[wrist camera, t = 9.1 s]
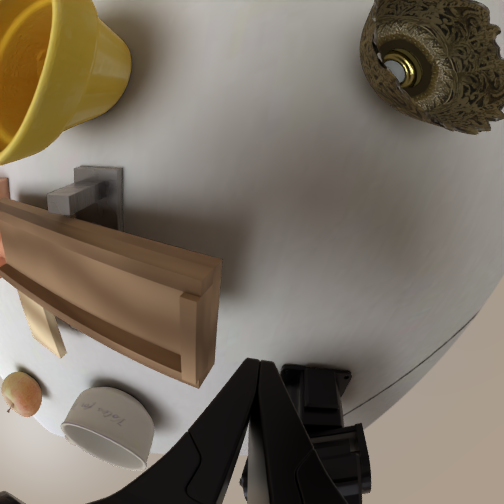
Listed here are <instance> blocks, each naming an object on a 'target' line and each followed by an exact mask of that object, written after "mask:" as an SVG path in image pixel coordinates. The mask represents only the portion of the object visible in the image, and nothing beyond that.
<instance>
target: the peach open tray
mask: <svg viewBox="0 0 504 504" xmlns="http://www.w3.org/2000/svg"><path fill="white" fill-rule="evenodd" d="M3 197H5V198H8V199H10V196H9V185H8V178H0V199H1V198H3ZM6 263H7V262H6V258H5V253H4V248H3V244H2V239H1V233H0V267H1V266H3V265H4V264H6ZM0 278H2V277H1V276H0Z"/></svg>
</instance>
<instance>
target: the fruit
mask: <svg viewBox="0 0 504 504" xmlns="http://www.w3.org/2000/svg"><path fill="white" fill-rule="evenodd" d="M2 395H3V397H4V399H5V401H6V403H7V404H8V405H9V406H10V409H11V408H12V409H13V410H14V411H15V412H17V413H18V414H20V415H22V416H24V417H30V416H32V415H34V414H35V413H36V412H37V411H38V409H39V408H40V405H41V402H42V393H41V389H40V386H39V384H38V383H37V382H36V381H35V380H34V379H33V378H32V377H31V376H29V375H28V374H26V373H24V372H14V373H11V374H10V375H8V376H7V377H6V378H5V379H4V381H3V384H2ZM10 409H9V410H10ZM9 410H8V411H7V412H9Z"/></svg>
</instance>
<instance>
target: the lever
mask: <svg viewBox="0 0 504 504" xmlns="http://www.w3.org/2000/svg"><path fill="white" fill-rule="evenodd" d="M0 233H1V239H2V244H3V248H4V253H5V258H6V262H7V263H6V264H4V265H3V266H1V267H0V276H1V277H2V278H3V279H5V280H6V281H7V282H9V283H10V284H11V285H12V286H14V287H15V288H16V289H17V290H18V294H19V297H20V300H21V304H22V307H23V310H24V313H25V316H26V318H27V321H28V324H29V327H30V329H31V332H32V335H33V337H34V338H35V339H36V340H37V341H38V342H40V343H41V344H42V345H43V346H45V347H46V348H47V349H49V350H50V351H51V352H53V353H54V354H55V355H57V356H58V357H59V358H62V357H63V356H64V355H65V354H66V353H67V352H66V349H65V346H64V343H63V341H62V338H61V335H60V332H59V328H58V325H57V322H56V319H55V316H57V317H58V318H60V319H61V320H63V321H65V322H66V323H68V324H69V325H71V326H73V327H74V328H76V329H78V330H79V331H81V332H83V333H84V334H86V335H88V336H89V337H91V338H93V339H95V340H97V341H98V342H100V343H102V344H104V345H106V346H107V347H109V348H111V349H113V350H115V351H117V352H119V353H121V354H123V355H125V356H127V357H129V358H131V359H133V360H135V361H137V362H139V363H141V364H143V365H145V366H147V367H149V368H151V369H153V370H156V371H158V372H160V373H162V374H165V375H167V376H169V377H171V378H174V379H176V380H178V381H181V382H183V383H186V384H188V385H191V386H193V387H196V388H198V389H199V388H200V386H201V384H202V383H203V381H204V380H205V378H206V376H207V375H208V373H209V372H210V370H211V368H212V367H213V365H214V362H215V347H216V334H217V321H218V308H219V296H220V284H221V273H222V262H223V259H219V258H216V257H212V256H208V255H204V254H201V253H197V252H193V251H190V250H186V249H182V248H179V247H175V246H171V245H168V244H164V243H160V242H157V241H153V240H150V239H146V238H142V237H139V236H135V235H132V234H128V233H124V232H121V231H117V230H114V229H110V228H107V227H103V226H100V225H96V224H93V223H89V222H86V221H82V220H79V219H75V218H72V217H69V216H65V215H61V214H54V213H48V210H45V209H41V208H38V207H35V206H31V205H28V204H25V203H21V202H18V201H15V200H11V199H8V198H5V197H3V198H1V199H0Z"/></svg>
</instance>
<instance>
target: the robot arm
mask: <svg viewBox="0 0 504 504" xmlns="http://www.w3.org/2000/svg"><path fill="white" fill-rule="evenodd" d="M286 370H288V371H286ZM351 378H352V375H351V372H350V371H344V370H331V369H320V368H310V367H301V366H293V365H284V366H282V368H281V371H280V374H279V372H278V370H277V368H276V365H275V363H274V362H272V361H266V360H261V361H259V360H258V359H253V358H246V359H245V360H244V361H243V363H242V364H241V365H240V367H239V368H238V369H237V371H236V372H235V373H234V374H233V376H232V377H231V378H230V379H229V381H228V382H227V383H226V384H225V386H224V387H223V388H222V389H221V391H220V392H219V393H218V394H217V396H216V397H215V398H214V399H213V401H212V402H211V403H210V404H209V406H208V407H207V408H206V409H205V410H204V412H203V413H202V414H201V415H200V416H199V418H198V419H197V420H196V421H195V422H194V424H193V425H192V426H191V427H190V428H189V429H188V432H186V433H185V434H184V435H183V436H182V437H181V439H180V440H179V441H178V442H177V443H176V444H175V445H174V446H173V447H172V448H171V449H170V450H169V451H168V452H167V453H166V454H165V455H164V456H163V457H162V458H161V459H160V460H158V461H157V462H156V463H155V464H154V465H152V466H151V467H150V468H149V469H147V470H146V471H145V472H144V473H142V474H141V475H140V476H138V477H137V478H136V479H135V480H134V481H132V482H131V483H129V484H128V485H127V486H125V487H124V488H122V489H121V490H119V491H118V492H116V493H114V494H112V495H110V496H108V497H106V498H103V499H100V500H97V501H93V502H90V503H87V504H222V502H223V499H224V496H225V494H226V491H227V488H228V485H229V482H230V479H231V477H232V474H233V471H234V467H235V465H236V462H237V459H238V456H239V453H240V450H241V447H242V444H243V440H244V437H245V434H246V431H247V427H248V424H249V442H248V458H247V460H246V464H245V467H244V470H243V473H242V477H241V479H240V485H241V486H242V487H243V490H244V496H245V499H246V501H247V504H362V494H365V493H370V491H371V470H370V461H369V455H368V450H367V446H366V441H365V436H364V431H363V427H362V423H359V424H355V425H354V426H348V427H344V421H343V413H342V405H341V396H342V394H343V393H344V391H345V389H346V387H347V385H348V383H349V382H350V380H351ZM249 420H250V421H249ZM0 504H25V503H24V502H22V501H21V500H19V499H18V498H16V497H14V496H13V495H11V494H10V493H8V492H6V491H2V492H0Z"/></svg>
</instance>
